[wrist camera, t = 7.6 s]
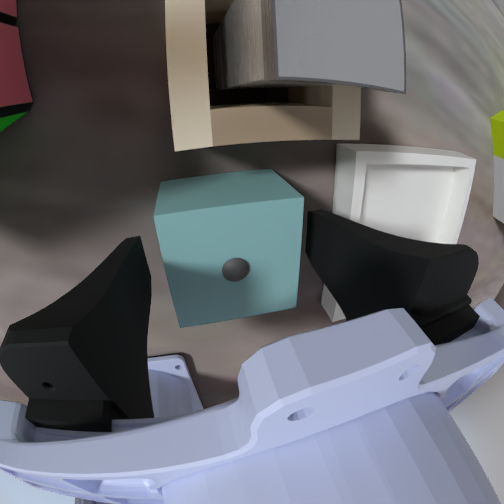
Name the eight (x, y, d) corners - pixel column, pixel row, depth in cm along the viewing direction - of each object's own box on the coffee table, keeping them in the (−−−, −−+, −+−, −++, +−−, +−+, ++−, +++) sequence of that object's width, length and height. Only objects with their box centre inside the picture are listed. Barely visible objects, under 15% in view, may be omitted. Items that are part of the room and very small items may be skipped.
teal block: (269, 258, 15) (296, 308, 12) (177, 272, 14) (180, 328, 11) (269, 168, 13) (304, 198, 9) (160, 180, 12) (153, 216, 8)
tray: (427, 273, 20) (441, 286, 18) (320, 303, 18) (332, 321, 16) (457, 151, 14) (476, 159, 13) (336, 143, 13) (356, 151, 11)
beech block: (311, 125, 12) (359, 140, 9) (176, 134, 11) (174, 151, 7) (307, 7, 9) (355, -17, 5) (169, 6, 8) (165, -32, 4)
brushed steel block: (275, 89, 11) (405, 93, 4) (214, 91, 10) (275, 79, 4) (272, 35, 9) (397, -20, 3) (211, 35, 9) (267, -55, 2)
